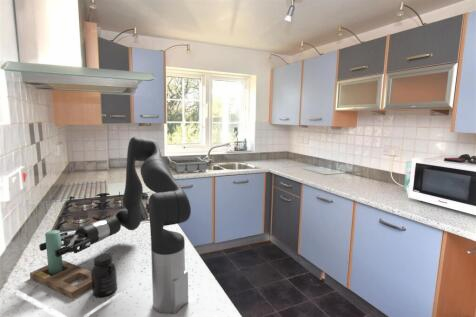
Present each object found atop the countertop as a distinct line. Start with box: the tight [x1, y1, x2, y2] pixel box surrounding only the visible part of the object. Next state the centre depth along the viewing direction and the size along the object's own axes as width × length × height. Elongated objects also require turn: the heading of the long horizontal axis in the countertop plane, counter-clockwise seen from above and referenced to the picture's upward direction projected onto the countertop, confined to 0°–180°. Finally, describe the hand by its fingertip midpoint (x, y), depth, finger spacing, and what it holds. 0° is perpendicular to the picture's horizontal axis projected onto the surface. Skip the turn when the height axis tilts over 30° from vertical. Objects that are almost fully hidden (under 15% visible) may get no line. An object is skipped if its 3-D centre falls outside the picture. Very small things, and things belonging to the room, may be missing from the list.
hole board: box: [29, 259, 92, 300], centre depth 92 cm, size 22×10×3 cm, turn 63°
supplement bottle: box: [91, 253, 118, 299], centre depth 86 cm, size 7×7×12 cm
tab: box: [78, 258, 94, 271], centre depth 101 cm, size 9×9×1 cm
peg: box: [44, 229, 63, 276], centre depth 93 cm, size 4×4×16 cm
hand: (47, 250), depth 91 cm, fingers open, 8 cm apart
